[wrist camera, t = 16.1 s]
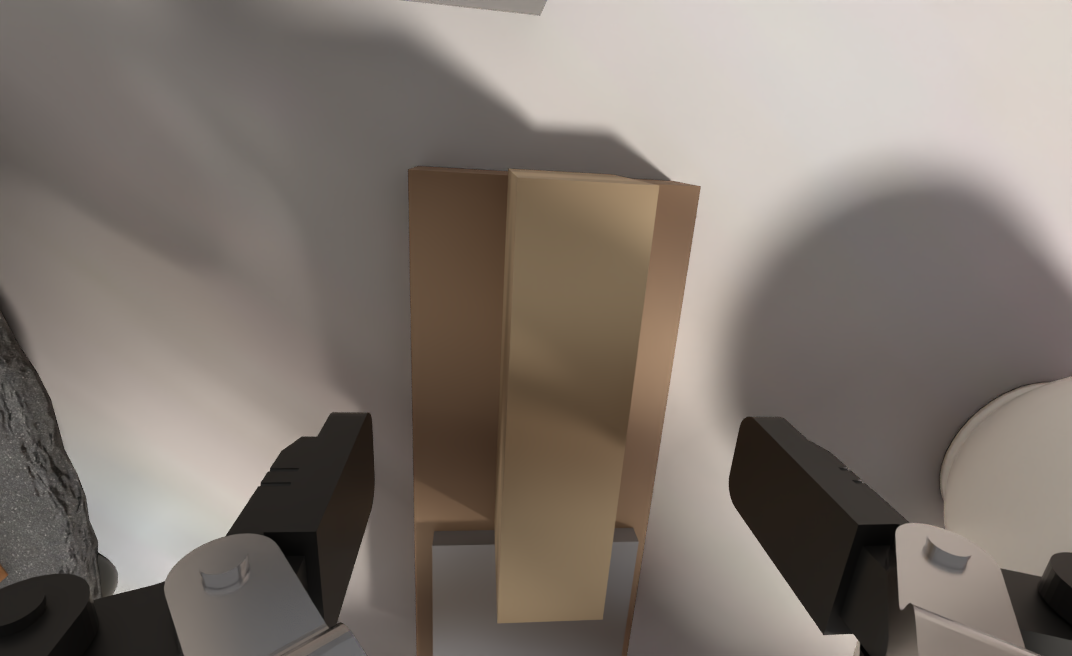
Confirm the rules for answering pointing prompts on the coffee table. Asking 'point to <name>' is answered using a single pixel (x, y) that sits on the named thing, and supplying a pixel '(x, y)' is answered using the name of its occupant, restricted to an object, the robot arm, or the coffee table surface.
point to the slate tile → (495, 5)
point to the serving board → (40, 486)
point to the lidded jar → (1014, 477)
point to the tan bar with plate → (556, 428)
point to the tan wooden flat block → (475, 358)
